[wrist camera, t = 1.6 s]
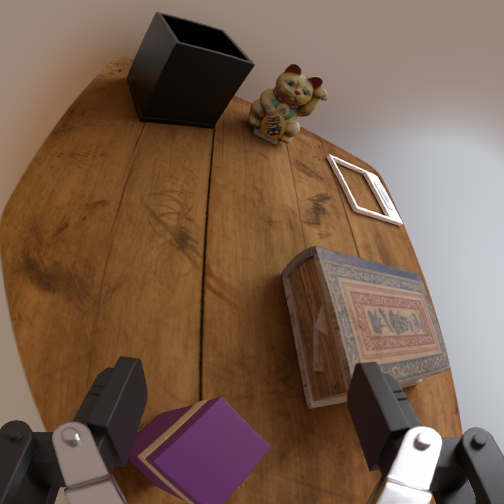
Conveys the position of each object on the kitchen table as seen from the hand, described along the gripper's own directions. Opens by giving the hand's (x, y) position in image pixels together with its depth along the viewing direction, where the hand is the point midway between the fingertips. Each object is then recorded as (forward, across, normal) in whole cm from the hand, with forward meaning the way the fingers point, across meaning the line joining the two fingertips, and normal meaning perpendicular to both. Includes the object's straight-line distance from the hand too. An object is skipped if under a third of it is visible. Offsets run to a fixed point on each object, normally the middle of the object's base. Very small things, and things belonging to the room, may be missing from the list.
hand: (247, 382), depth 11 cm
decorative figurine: (+51, -3, -12) cm, 52 cm away
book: (+25, -15, +15) cm, 33 cm away
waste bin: (+42, +13, -16) cm, 46 cm away
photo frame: (+57, -26, 0) cm, 63 cm away
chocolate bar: (+6, +7, +13) cm, 16 cm away
